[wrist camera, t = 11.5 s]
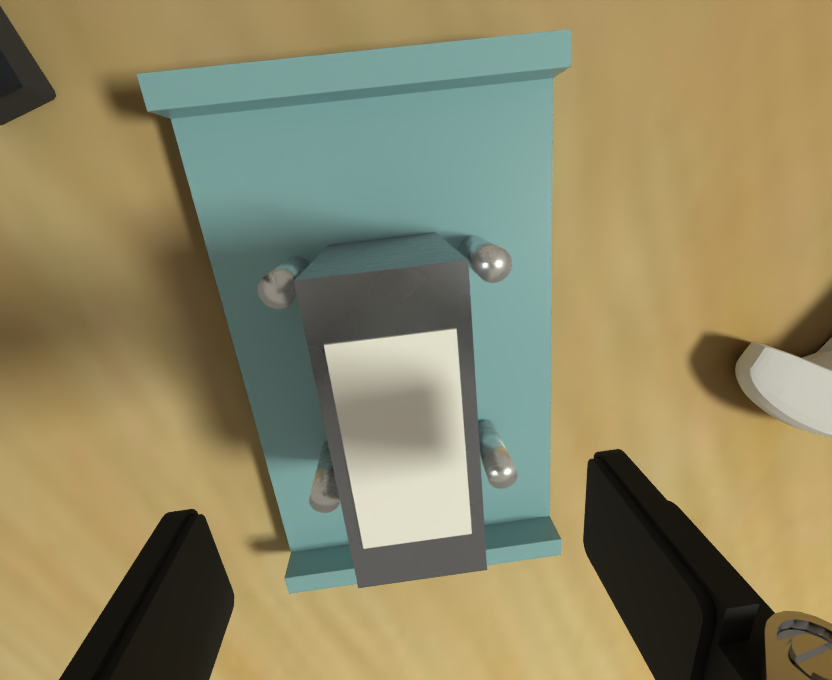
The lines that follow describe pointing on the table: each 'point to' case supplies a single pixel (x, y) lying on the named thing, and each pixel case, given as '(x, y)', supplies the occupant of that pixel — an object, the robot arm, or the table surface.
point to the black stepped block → (19, 76)
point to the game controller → (789, 385)
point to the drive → (399, 403)
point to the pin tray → (375, 219)
